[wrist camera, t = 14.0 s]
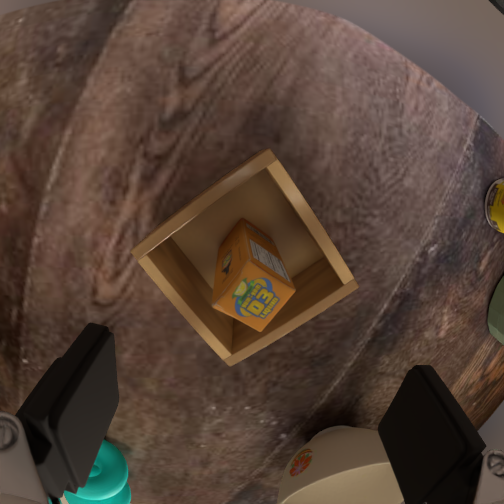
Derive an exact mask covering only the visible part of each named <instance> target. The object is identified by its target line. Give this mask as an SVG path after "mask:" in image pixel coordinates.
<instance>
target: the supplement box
mask: <svg viewBox="0 0 504 504" xmlns="http://www.w3.org/2000/svg"><path fill="white" fill-rule="evenodd" d="M295 291H296V289H295V287H294V284H293V282H292V280H291V278H290V276H289V273H288V271H287V269H286V267H285V265H284V262H283V260H282V258H281V256H280V254H279V252H278V249H277V247H276V245H275V243H274V241H273V239H272V238H270V237H269V236H268V235H266V234H265V233H264V232H262V231H261V230H260V229H258V228H257V227H256V226H254V225H253V224H251V223H250V222H249V221H247V220H246V219H244V218H241V219H240V220H239V221H238V222H237V223H236V225H235V226H234V227H233V229H232V230H231V231H230V233H229V234H228V236H227V237H226V238H225V240H224V241H223V243H222V244H221V245H220V247H219V249H218V254H217V262H216V269H215V278H214V287H213V296H212V307H213V308H215V309H217V310H219V311H221V312H223V313H225V314H227V315H229V316H231V317H233V318H235V319H237V320H239V321H241V322H243V323H245V324H246V325H248V326H250V327H252V328H254V329H255V330H257V331H259V332H261V331H262V330H263V329H264V328H265V327H266V326H267V324H268V323H269V322H270V321H271V320H272V319H273V317H274V316H275V315H276V314H277V313H278V312H279V310H280V309H281V308H282V307H283V306H284V305H285V303H286V302H287V301H288V300H289V298H290V297H291V296H292V295H293V294H294V293H295Z"/></svg>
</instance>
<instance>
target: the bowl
mask: <svg viewBox="0 0 504 504" xmlns="http://www.w3.org/2000/svg"><path fill="white" fill-rule="evenodd" d="M402 501H404V499H403V496H402V493H401V491H400V488H399V485H398V483H397V480H396V477H395V475H394V472H393V469H392V467H391V464H390V462H389V459H388V456H387V454H386V451H385V449H384V446H383V444H382V441H381V439H380V436H379V433H378V431H375V430H371V429H366V428H353V427H350V426H344V425H341V426H333V427H330V428H327V429H324V430H322V431H320V432H319V433H317V434H316V435H315V436H314V437H313V438H312V439H311V440H310V441H309V442H308V443H306V444H305V445H304V446H303V447H302V448H300V449H299V450H298V451H297V452H296V453H295V455H294V456H293V457H292V458H291V460H290V461H289V463H288V464H287V466H286V468H285V471H284V473H283V476H282V480H281V485H280V489H279V495H278V500H277V504H400V503H401V502H402Z"/></svg>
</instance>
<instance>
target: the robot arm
mask: <svg viewBox="0 0 504 504" xmlns="http://www.w3.org/2000/svg"><path fill="white" fill-rule="evenodd" d="M118 402H119V392H118V382H117V371H116V358H115V341H114V334H113V333H111V332H109V329H108V327H107V326H103V325H99V324H95V323H89V324H88V325H87V326H86V327H85V328H84V330H83V331H82V332H81V334H80V335H79V336H78V337H77V339H76V340H75V341H74V343H73V344H72V345H71V346H70V348H69V349H68V350H67V352H66V353H65V354H64V356H63V357H62V358H61V357H60V358H57V359H56V360H55V361H54V362H53V364H52V365H51V366H50V368H49V369H48V370H47V372H46V373H45V374H44V376H43V377H42V378H41V380H40V381H39V382H38V384H37V385H36V386H35V388H34V389H33V391H32V392H31V393H30V395H29V396H28V398H27V399H26V400H25V402H24V403H23V405H22V406H21V407H20V409H19V410H18V412H17V413H16V415H13V414H11V413H9V412H5V411H0V504H62V503H61V500H60V497H62V496H63V493H64V491H65V490H66V491H68V492H71V493H73V494H76V493H77V490H78V488H79V487H81V488H83V487H84V486H85V485H86V483H87V480H88V477H89V475H90V472H91V470H92V467H93V465H94V462H95V460H96V457H97V455H98V452H99V450H100V447H101V445H102V442H103V440H104V437H105V435H106V433H107V430H108V428H109V425H110V423H111V421H112V418H113V416H114V414H115V411H116V409H117V406H118ZM378 433H379V436H380V439H381V441H382V444H383V446H384V449H385V451H386V454H387V456H388V459H389V462H390V464H391V467H392V469H393V472H394V475H395V477H396V480H397V483H398V485H399V488H400V491H401V493H402V496H403V499H404V501H405V504H504V452H503V451H501V450H497V449H492V450H489V451H487V452H486V454H485V455H484V456H483V455H482V453H481V452H482V451H483V450H484V449H485V447H486V444H485V443H484V441H483V440H482V438H481V437H480V435H479V434H478V432H477V431H476V429H475V427H474V426H473V424H472V423H471V421H470V420H469V418H468V417H467V415H466V414H465V413H464V411H463V410H462V408H461V407H460V405H459V404H458V402H457V401H456V399H455V398H454V396H453V395H452V394H451V392H450V391H449V389H448V388H447V387H446V385H445V384H444V382H443V381H442V380H441V378H440V377H439V375H438V374H437V373H436V371H435V370H434V368H433V367H432V366H430V365H415V366H414V367H413V368H412V369H411V370H409V371H408V373H407V374H406V376H405V378H404V380H403V382H402V384H401V386H400V388H399V390H398V392H397V394H396V395H395V397H394V399H393V401H392V403H391V404H390V406H389V408H388V410H387V412H386V413H385V415H384V417H383V418H382V420H381V422H380V424H379V426H378Z"/></svg>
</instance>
